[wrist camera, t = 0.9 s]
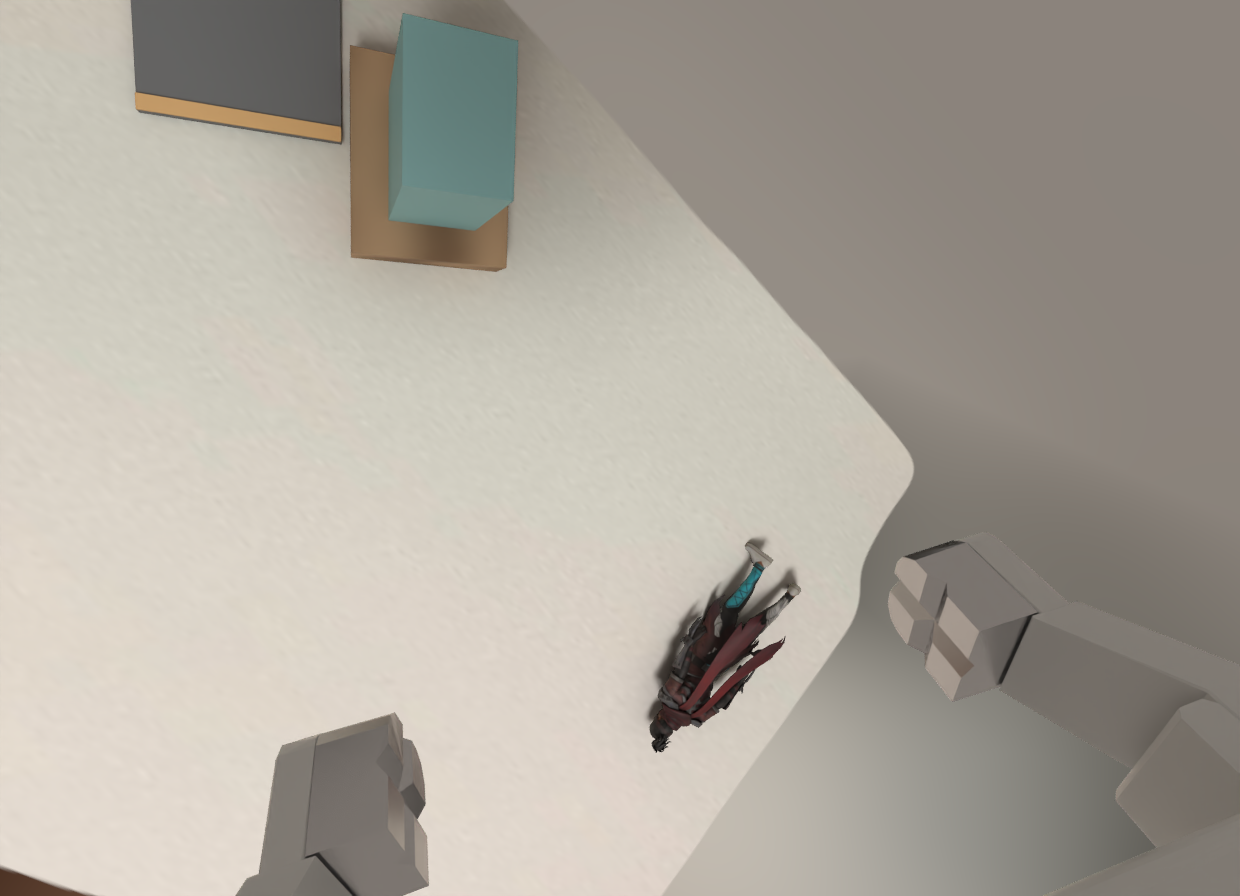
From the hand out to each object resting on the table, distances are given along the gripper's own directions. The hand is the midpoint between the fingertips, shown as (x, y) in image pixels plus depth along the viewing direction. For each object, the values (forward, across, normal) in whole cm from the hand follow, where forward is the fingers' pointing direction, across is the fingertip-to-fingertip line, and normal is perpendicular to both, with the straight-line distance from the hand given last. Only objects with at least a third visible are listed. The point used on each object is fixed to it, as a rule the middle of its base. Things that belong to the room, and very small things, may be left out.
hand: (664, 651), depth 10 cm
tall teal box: (+36, +2, 0) cm, 36 cm away
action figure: (+26, -10, +39) cm, 48 cm away
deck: (+39, +2, +1) cm, 39 cm away
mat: (+41, +10, -8) cm, 43 cm away
